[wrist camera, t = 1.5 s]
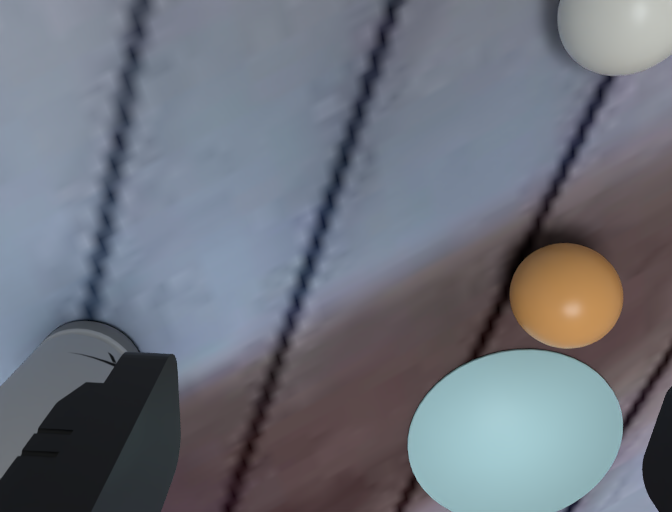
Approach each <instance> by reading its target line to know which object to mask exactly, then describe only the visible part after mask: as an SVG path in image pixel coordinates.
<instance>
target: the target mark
mask: <svg viewBox="0 0 672 512" xmlns="http://www.w3.org/2000/svg"><path fill="white" fill-rule="evenodd" d="M622 435H623V420H622V412H621V409H620V406H619V403H618V400H617V398H616V396H615V394H614V392H613V391H612V389H611V388H610V387H609V385H608V384H607V383H606V381H605V380H604V379H603V378H602V377H601V376H600V375H599V374H598V373H597V372H596V371H595V370H593V369H592V368H590V367H589V366H587V365H586V364H584V363H582V362H581V361H579V360H577V359H575V358H573V357H570V356H567V355H564V354H561V353H557V352H553V351H548V350H540V349H513V350H506V351H500V352H496V353H492V354H488V355H485V356H482V357H479V358H476V359H474V360H471V361H469V362H467V363H465V364H463V365H461V366H459V367H458V368H456V369H455V370H453V371H452V372H450V373H449V374H447V375H446V376H445V377H444V378H442V379H441V380H440V381H439V382H437V383H436V384H435V385H434V387H433V388H432V389H431V390H430V391H429V392H428V393H427V394H426V396H425V397H424V398H423V400H422V401H421V403H420V404H419V406H418V408H417V410H416V412H415V413H414V416H413V419H412V421H411V424H410V428H409V434H408V455H409V461H410V464H411V468H412V471H413V473H414V475H415V477H416V479H417V481H418V482H419V484H420V485H421V486H422V488H423V489H424V490H425V491H426V492H427V493H428V495H429V496H430V497H431V498H433V499H434V500H435V501H436V502H438V503H439V504H440V505H442V506H444V507H445V508H447V509H449V510H451V511H453V512H556V511H558V510H561V509H563V508H565V507H567V506H569V505H570V504H572V503H574V502H576V501H577V500H579V499H580V498H581V497H583V496H584V495H586V494H587V493H588V492H589V491H590V490H591V489H593V488H594V487H595V486H596V485H597V484H598V483H599V482H600V481H601V479H602V478H603V477H604V476H605V474H606V473H607V472H608V470H609V469H610V468H611V466H612V464H613V462H614V460H615V458H616V456H617V453H618V451H619V448H620V445H621V440H622Z"/></svg>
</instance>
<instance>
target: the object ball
mask: <svg viewBox="0 0 672 512" xmlns="http://www.w3.org/2000/svg"><path fill="white" fill-rule="evenodd" d="M510 303H511V308H512V311H513V313H514V316H515V318H516V319H517V321H518V323H519V324H520V325H521V327H522V328H523V329H524V330H525V331H526V332H527V333H528V334H529V335H530V336H532V337H533V338H535V339H536V340H538V341H540V342H542V343H544V344H546V345H549V346H553V347H558V348H578V347H583V346H587V345H589V344H592V343H594V342H596V341H598V340H599V339H601V338H602V337H604V336H605V335H606V334H607V333H608V332H609V331H610V330H611V329H612V328H613V326H614V325H615V323H616V322H617V320H618V318H619V316H620V313H621V310H622V305H623V289H622V285H621V281H620V278H619V276H618V274H617V272H616V270H615V269H614V267H613V266H612V265H611V264H610V263H609V262H608V261H607V259H606V258H604V257H603V256H602V255H601V254H599V253H598V252H596V251H594V250H592V249H590V248H588V247H585V246H582V245H578V244H572V243H558V244H552V245H548V246H545V247H542V248H540V249H538V250H536V251H534V252H533V253H531V254H530V255H529V256H527V257H526V258H525V259H524V260H523V261H522V262H521V264H520V265H519V266H518V268H517V270H516V271H515V273H514V275H513V278H512V281H511V285H510Z"/></svg>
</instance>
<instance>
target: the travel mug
mask: <svg viewBox="0 0 672 512" xmlns="http://www.w3.org/2000/svg"><path fill="white" fill-rule="evenodd" d="M125 352H138V350H137V348H136V347H135V346H134V344H133V343H132V342H131V341H130V340H129V339H128V338H127V337H126V336H125V335H124V334H123V333H121V332H120V331H118V330H117V329H115V328H113V327H110V326H108V325H106V324H102V323H98V322H93V321H75V322H71V323H67V324H64V325H63V326H61V327H59V328H57V329H56V330H54V331H53V332H52V333H51V334H50V335H49V336H48V337H47V338H46V339H45V340H44V341H43V342H42V343H41V344H40V346H39V347H38V348H37V349H36V350H35V351H34V352H33V353H32V354H31V355H30V356H29V357H28V358H27V359H26V360H25V361H24V362H23V363H22V364H21V365H20V366H19V368H18V369H17V370H16V371H15V372H14V373H13V374H12V375H11V376H10V377H9V378H8V379H7V380H6V381H5V382H4V383H3V384H2V385H1V386H0V479H1V478H2V476H3V475H4V474H5V472H6V471H7V470H8V468H9V467H10V465H11V464H12V463H13V461H14V460H15V459H16V457H17V456H21V454H22V449H23V448H24V446H25V445H26V444H27V442H28V441H29V440H30V438H31V437H32V435H33V434H34V433H37V432H38V427H39V426H40V425H41V423H42V422H43V420H44V419H45V418H46V416H47V415H48V414H49V412H50V411H51V410H52V408H53V407H54V406H55V404H56V403H57V402H58V401H60V400H61V399H62V398H64V397H65V396H67V395H68V394H70V393H71V392H72V391H74V390H75V389H77V388H78V387H80V386H81V385H82V384H84V383H85V382H95V383H104V382H105V380H106V379H107V377H108V376H109V374H110V372H111V371H112V369H113V368H114V366H115V365H116V363H117V362H118V360H119V358H120V357H121V356H122V354H123V353H125Z"/></svg>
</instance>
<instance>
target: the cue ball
mask: <svg viewBox="0 0 672 512" xmlns="http://www.w3.org/2000/svg"><path fill="white" fill-rule="evenodd" d="M557 24H558V32H559V35H560V39H561V42H562V44H563V46H564V48H565V50H566V51H567V53H568V54H569V55H570V56H571V58H572V59H573V60H574V61H576V62H577V63H578V64H579V65H580V66H582V67H584V68H585V69H587V70H589V71H592V72H594V73H598V74H601V75H607V76H625V75H631V74H635V73H638V72H642V71H644V70H647V69H649V68H651V67H653V66H655V65H657V64H658V63H660V62H662V61H663V60H665V59H666V58H667V57H669V56H670V55H671V54H672V0H560V2H559V7H558V14H557Z"/></svg>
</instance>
